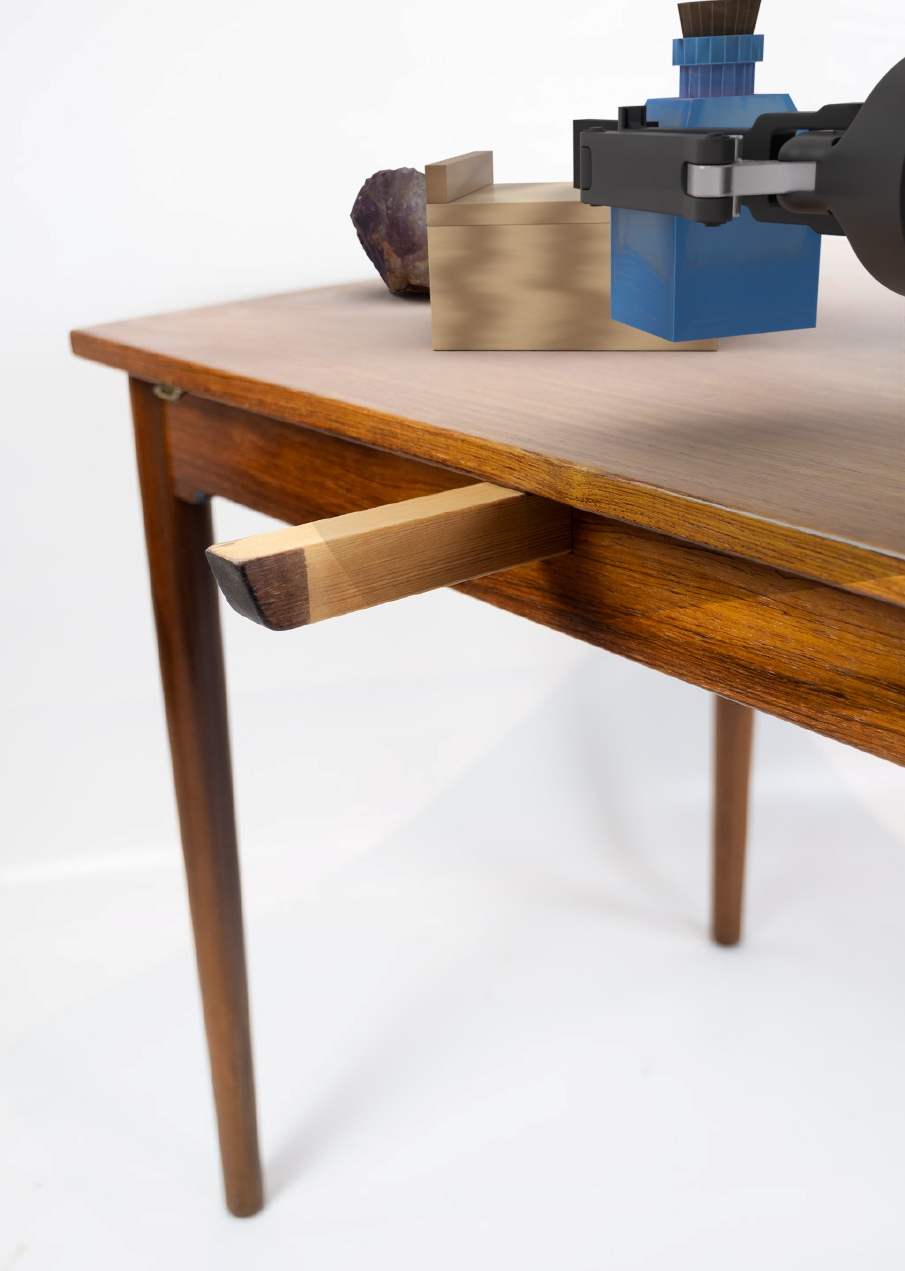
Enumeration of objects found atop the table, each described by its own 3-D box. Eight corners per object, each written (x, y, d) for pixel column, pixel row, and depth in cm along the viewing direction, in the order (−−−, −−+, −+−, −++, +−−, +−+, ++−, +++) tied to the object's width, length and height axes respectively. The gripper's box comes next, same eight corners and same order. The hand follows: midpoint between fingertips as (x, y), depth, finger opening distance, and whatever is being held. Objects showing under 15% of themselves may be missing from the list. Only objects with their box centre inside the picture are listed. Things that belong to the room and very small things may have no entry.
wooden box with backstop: (723, 309, 85) (730, 143, 82) (717, 350, 73) (724, 156, 69) (479, 310, 89) (474, 151, 85) (432, 350, 76) (424, 165, 72)
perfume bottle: (815, 327, 53) (836, -7, 48) (673, 342, 51) (679, -2, 47) (741, 305, 58) (753, 4, 54) (610, 318, 57) (611, 9, 52)
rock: (491, 298, 102) (361, 297, 103) (493, 180, 100) (360, 181, 101) (480, 296, 91) (334, 295, 91) (481, 163, 89) (332, 163, 89)
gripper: (709, 350, 35) (446, 257, 56) (1279, 287, 41) (847, 223, 61) (719, 41, 33) (437, 62, 53) (1331, 16, 38) (860, 44, 58)
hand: (657, 148), depth 57 cm, fingers closed on perfume bottle, 6 cm apart
